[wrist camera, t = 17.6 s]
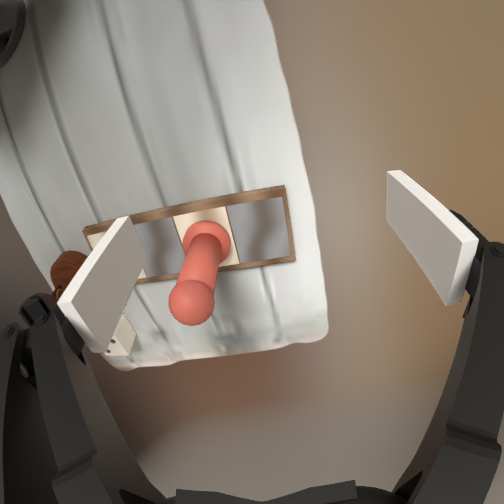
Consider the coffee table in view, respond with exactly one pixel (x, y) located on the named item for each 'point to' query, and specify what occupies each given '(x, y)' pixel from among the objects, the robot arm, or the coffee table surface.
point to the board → (222, 212)
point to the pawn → (199, 272)
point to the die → (122, 338)
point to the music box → (64, 273)
